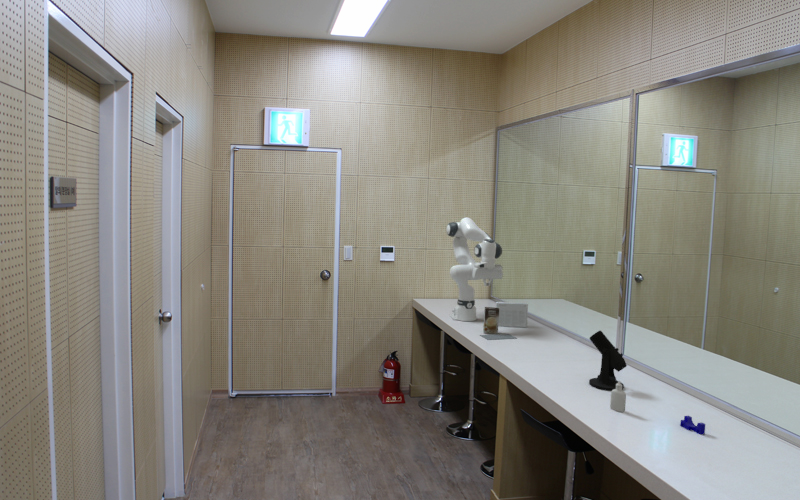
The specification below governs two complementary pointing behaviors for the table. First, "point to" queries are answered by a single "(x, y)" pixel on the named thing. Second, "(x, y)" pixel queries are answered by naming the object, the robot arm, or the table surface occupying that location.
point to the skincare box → (512, 314)
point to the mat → (498, 336)
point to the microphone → (607, 363)
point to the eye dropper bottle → (618, 398)
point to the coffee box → (491, 320)
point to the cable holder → (692, 425)
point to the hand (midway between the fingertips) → (487, 285)
